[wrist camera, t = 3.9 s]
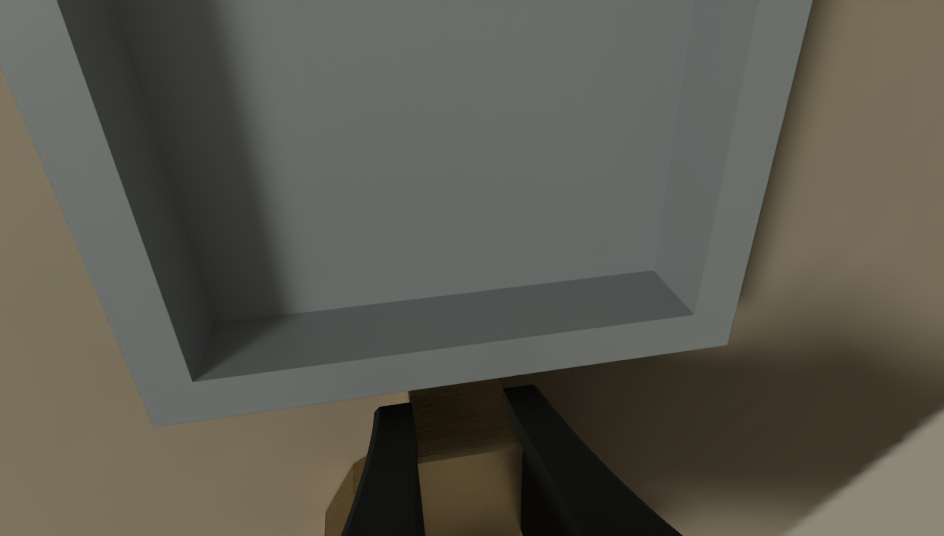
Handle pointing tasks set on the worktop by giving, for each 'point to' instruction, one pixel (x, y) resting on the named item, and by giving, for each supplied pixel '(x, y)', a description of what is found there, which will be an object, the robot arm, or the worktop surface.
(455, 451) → the ring
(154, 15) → the tray
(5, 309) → the worktop surface
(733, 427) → the worktop surface
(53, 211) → the worktop surface
